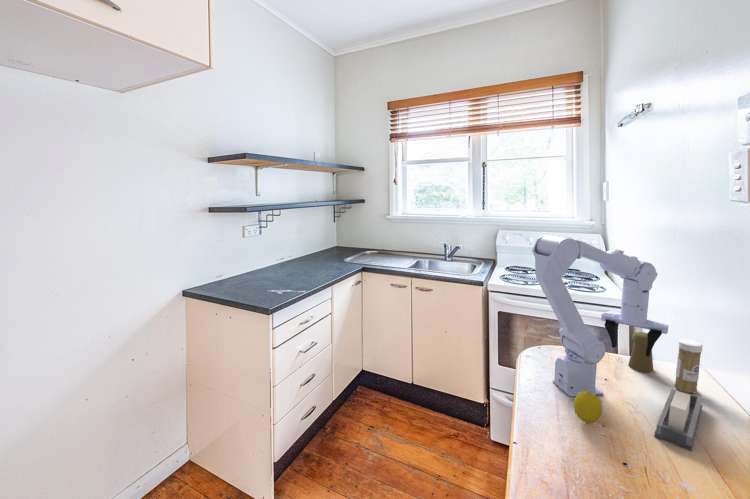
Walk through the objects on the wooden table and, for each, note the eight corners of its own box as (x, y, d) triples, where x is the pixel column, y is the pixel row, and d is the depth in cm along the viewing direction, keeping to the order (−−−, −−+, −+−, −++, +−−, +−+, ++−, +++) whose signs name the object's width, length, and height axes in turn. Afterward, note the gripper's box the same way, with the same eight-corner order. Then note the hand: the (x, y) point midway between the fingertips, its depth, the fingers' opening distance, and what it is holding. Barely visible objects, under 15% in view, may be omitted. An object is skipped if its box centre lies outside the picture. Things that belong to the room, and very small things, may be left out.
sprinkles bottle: (691, 395, 87) (697, 347, 85) (670, 387, 91) (675, 340, 89) (700, 391, 89) (706, 343, 87) (679, 382, 93) (684, 337, 91)
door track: (691, 451, 68) (693, 438, 68) (654, 436, 73) (655, 424, 72) (701, 409, 81) (703, 397, 81) (669, 398, 86) (670, 388, 85)
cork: (658, 372, 98) (662, 337, 97) (638, 373, 99) (641, 337, 97) (642, 362, 104) (645, 329, 103) (623, 363, 105) (626, 329, 103)
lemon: (601, 434, 74) (603, 401, 73) (572, 426, 77) (574, 394, 76) (600, 420, 79) (602, 388, 78) (573, 412, 82) (575, 382, 80)
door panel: (682, 436, 71) (685, 410, 70) (667, 430, 73) (670, 405, 72) (687, 419, 77) (690, 395, 76) (673, 414, 78) (675, 390, 78)
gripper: (672, 306, 88) (667, 354, 90) (607, 295, 99) (604, 339, 101) (667, 312, 83) (662, 363, 85) (600, 300, 94) (597, 346, 96)
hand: (630, 350), depth 93 cm, fingers open, 7 cm apart
